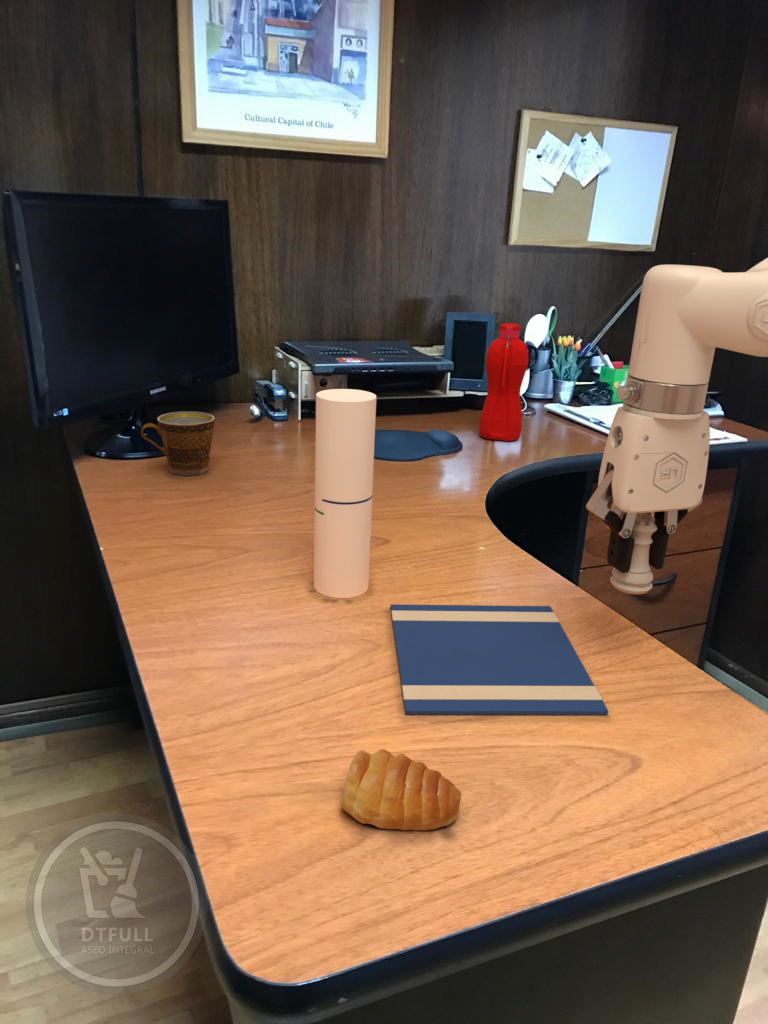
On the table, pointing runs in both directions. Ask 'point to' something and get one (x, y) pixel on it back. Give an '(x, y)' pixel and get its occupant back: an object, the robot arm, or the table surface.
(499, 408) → the water bottle
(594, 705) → the towel
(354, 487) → the cylindrical container
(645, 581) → the rook chess piece
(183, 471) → the ceramic cup
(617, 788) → the table surface
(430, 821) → the pastry
